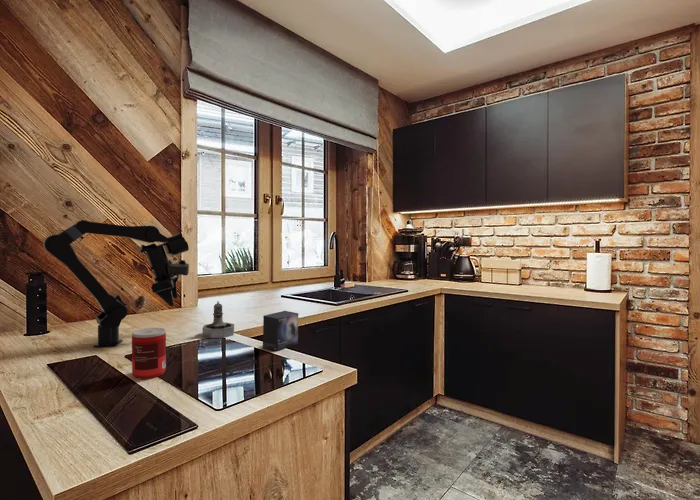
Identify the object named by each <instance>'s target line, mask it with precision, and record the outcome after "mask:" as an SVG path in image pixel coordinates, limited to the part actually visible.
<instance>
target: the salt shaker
mask: <svg viewBox="0 0 700 500" xmlns="http://www.w3.org/2000/svg"><path fill="white" fill-rule="evenodd" d="M216 302H217V303H214V305H213V313H212V315H213V321H212V323H209V324H210V325H209V326H210V328H211V329H222V328H226V325H227V324H226V323H227V322H224V320H223V315H224V313H223V305H222V304H221V303H220V301H219V300H218V301H216Z"/></svg>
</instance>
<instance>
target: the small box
mask: <svg viewBox="0 0 700 500" xmlns="http://www.w3.org/2000/svg"><path fill="white" fill-rule="evenodd" d="M262 318H263V320H262V321H263V324H262V330H263V332H262V349H266V350H271V351H275V352H278V351H281V350H283V349H286V348H289V347H293V346H295V345H297V344H299V313H298V312H293V311H288V310H282V311H278V312H273V313H270V314H269V313H268V314H264V315H263V317H262Z"/></svg>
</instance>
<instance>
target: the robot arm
mask: <svg viewBox="0 0 700 500" xmlns="http://www.w3.org/2000/svg"><path fill="white" fill-rule="evenodd" d="M85 234H94V235H101V236H102V235H103V236H110V237H111V236H112V237H123V238H128V239H131V240H135V241H139V242H143V243H148V245H145V244H140V248H139V249H138V251H137V252H138V253H142V254H143V253H145V254H146V257H147V259H148V261H149V264H150V267H149V269H150V271H152V273H153V275H154V278H153V279H154V282H153V283H152V285H151V287H150V288H151V291H152V293H154V294H156V295H157V296H159V298H161V299H162V301H164V302H165V303H167V305H168V306H170V307H174V306H175V302H174V299H178V289H177V288H178V286H177V282H178V280H179V278H180V276H188V275H189V273H190V271H189V269H190V264H189V263H187V262H186V260H183V259H181V260H180V261H179V262H177V263H172V261H171V260H170V259H169V258H168V255H170V256H171V257H175V256H178V255H180V254H183V253H186V252H188V251H189V250H190V249H189V248H190V247H189V244H188V241H187V240H186V239H185V237H184V236H183V234H182V233H177V234H175V235H172V236H168V237H167V236H165V235H163V234H162V233H160V230H159V229H158V228H157V227H156V226H155V225H133V226H132V225H131V226H129V225H128V226H127V225H120V224H113V223H106V222H97V221H95V222H94V221H88V220H85V219H83V220H78V221H76V222H75V223H74V224H73V225H71V226H70V227H68V228H66V229H64V230H63V231H61V232H59V233H58V234H50V235H48V236H46V237H45V238H44V240H43V243H42V245H43V248H44V249H45V251H46V252H48V253H49V254H50V255H51V256H53V257H54V258H56V259H57V260H58V261H59V262H61V263H62V264H64V266H66V267H67V268H68V270H69V271H70V272H71V273H72V274H73V275H74V277H76V278H77V280H78V281H79V282H80V283H81V284H82V285H83V287H85V289H86V290H87V291H88V292H89V293H90V294H91V295H92V296H93V298H94V299H95V300H96V302H97V304H98V305H99V308H100V310H102V311H101V312H100V313H99V314H98V315H97V316H96V317H95V321H96V323H97V342H96V343H95V344H94V345H93V348H102V347H105V348H106V347H117V346H118V345H119V344H121V343H122V342H123V341H124V339H123V338H122V339H119V338H120V335H119V334H120V330H119V329H120V325H121V322H122V320H124V319H125V318H126V317H127V315H128V311H129V310H128V307H127V306H128V304H127V303H126V302H125V301H123V300H122V298H121V297H120V295H119V294H117V293H113V294H110V293H109V292H108V291H107V290H106V288H104V286H103V285H102V284H101V282H100V281H99V280H98V279H97V278H96V277H95V276H94V275H93V274H92V273H91V271H90V270H89V269H88V268H87V267H86V266H85V265H84V264H83V262H82V261H81V260H80V259H79V258H78V256H77V254H76V252H75V250H74V248H73V246H72V245H71V244H72V243H74V242H75V241H76V240H78V239H79V238H81V237H83V235H85ZM149 243H150V244H149ZM156 243H161V244H156Z"/></svg>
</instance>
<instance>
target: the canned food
mask: <svg viewBox="0 0 700 500" xmlns="http://www.w3.org/2000/svg"><path fill="white" fill-rule="evenodd" d="M166 358H167V332H166V329H165V328H163V327H146V328H140V329H139V328H138V329H136V330H134V331H132V332H131V373H132V377H133V376H134V377H133V378H134V379H137V378H141V379H140V380H148V378H150V379H155V378H158V377H160V375H161V376H162V375H164V374H165V372H166V369H167V359H166ZM157 376H158V377H157ZM154 377H155V378H154Z"/></svg>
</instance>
